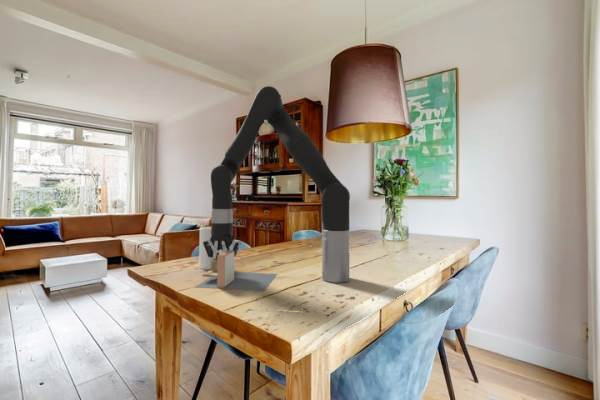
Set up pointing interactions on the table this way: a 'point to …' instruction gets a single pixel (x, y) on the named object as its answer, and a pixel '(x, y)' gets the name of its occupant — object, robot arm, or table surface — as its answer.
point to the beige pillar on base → (212, 270)
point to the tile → (225, 268)
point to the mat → (242, 282)
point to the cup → (203, 257)
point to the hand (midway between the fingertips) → (221, 269)
